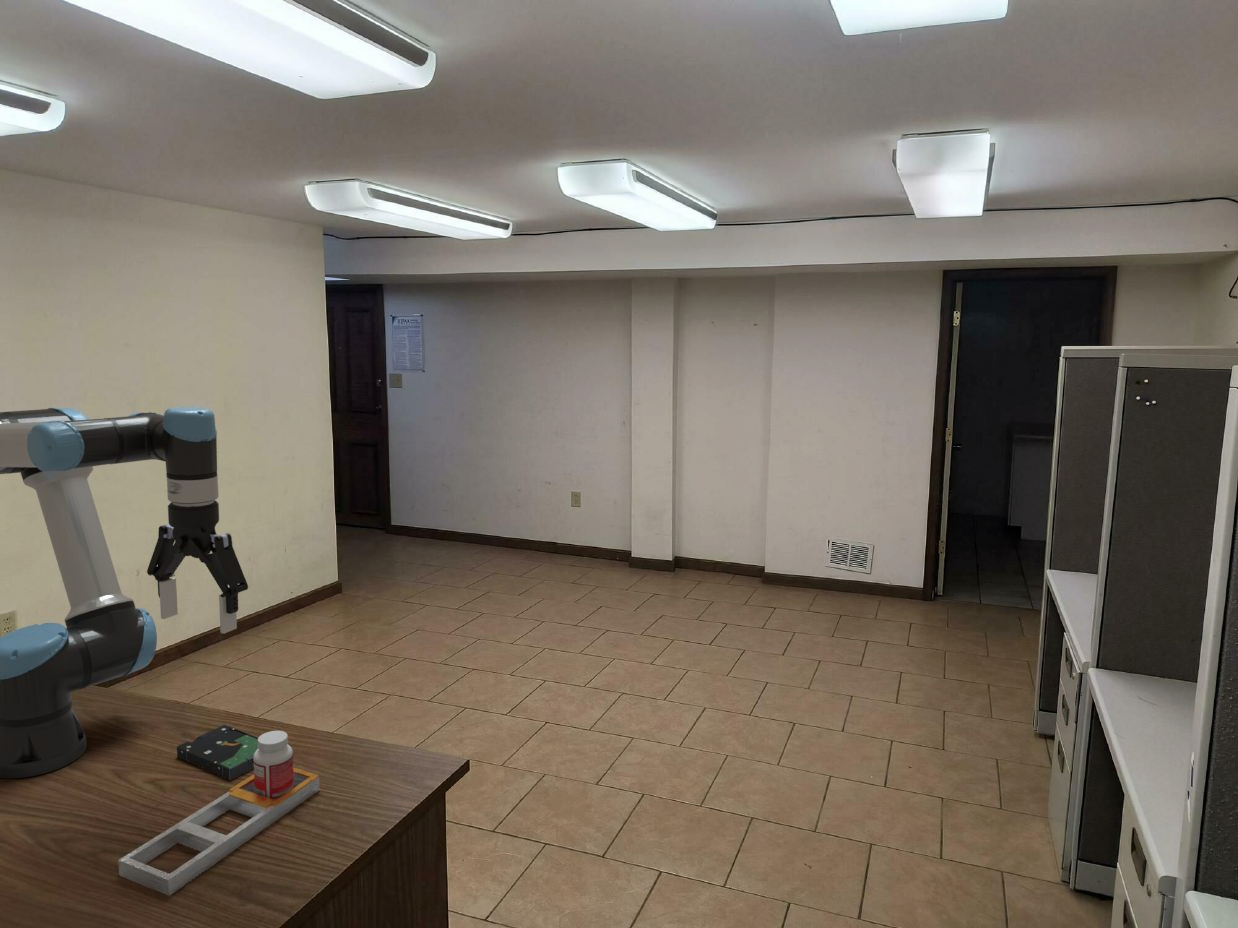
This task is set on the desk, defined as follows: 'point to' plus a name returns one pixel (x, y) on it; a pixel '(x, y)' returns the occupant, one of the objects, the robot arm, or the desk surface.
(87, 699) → the desk surface
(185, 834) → the socket rail
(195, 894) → the desk surface
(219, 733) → the disk drive
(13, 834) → the desk surface
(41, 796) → the desk surface
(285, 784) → the pill bottle
